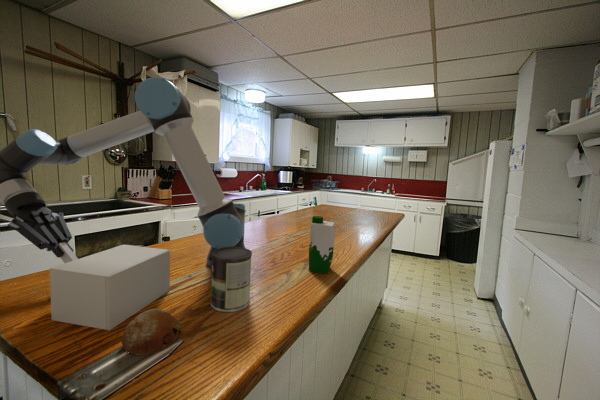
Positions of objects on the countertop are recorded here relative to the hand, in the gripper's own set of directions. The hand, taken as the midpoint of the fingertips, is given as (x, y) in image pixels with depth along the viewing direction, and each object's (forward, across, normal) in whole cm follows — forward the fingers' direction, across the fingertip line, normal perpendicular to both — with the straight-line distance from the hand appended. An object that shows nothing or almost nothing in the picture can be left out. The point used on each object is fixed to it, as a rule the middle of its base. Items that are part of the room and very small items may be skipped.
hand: (73, 263), depth 74 cm
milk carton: (+51, -37, +42) cm, 76 cm away
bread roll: (+30, +14, +20) cm, 39 cm away
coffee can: (+36, -4, +26) cm, 45 cm away
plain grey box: (+17, +4, +7) cm, 19 cm away
